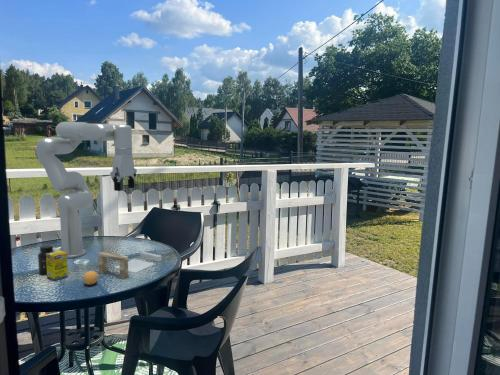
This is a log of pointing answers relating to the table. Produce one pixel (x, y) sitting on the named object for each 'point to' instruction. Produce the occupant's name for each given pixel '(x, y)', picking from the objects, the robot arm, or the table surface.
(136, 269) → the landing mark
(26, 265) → the table surface
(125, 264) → the bridge
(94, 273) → the ball
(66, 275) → the supplement box
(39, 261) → the supplement bottle
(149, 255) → the wall
